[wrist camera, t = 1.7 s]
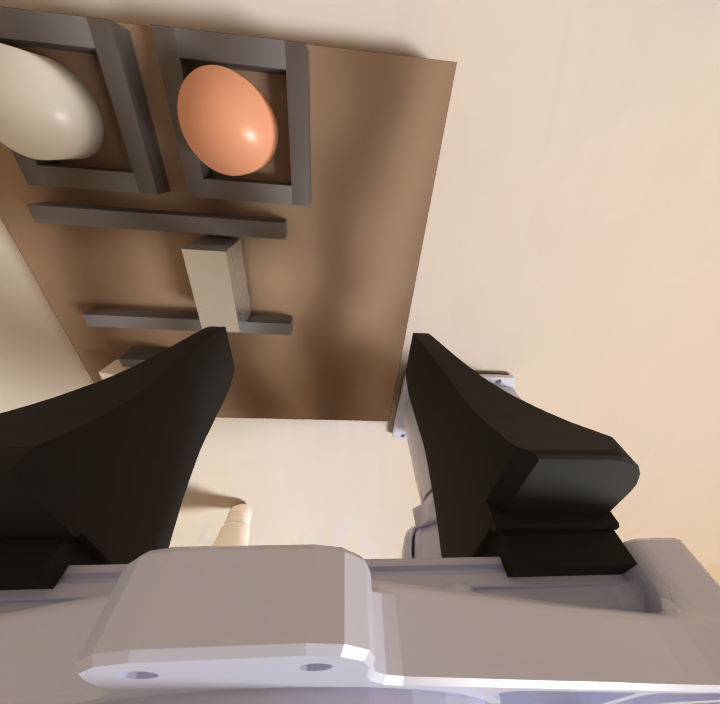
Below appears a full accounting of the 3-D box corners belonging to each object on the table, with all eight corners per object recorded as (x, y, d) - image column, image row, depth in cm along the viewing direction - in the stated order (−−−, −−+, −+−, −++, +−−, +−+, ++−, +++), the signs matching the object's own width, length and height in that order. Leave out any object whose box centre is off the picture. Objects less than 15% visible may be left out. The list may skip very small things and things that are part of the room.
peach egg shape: (274, 80, 11) (264, 70, 10) (281, 175, 13) (273, 179, 12) (189, 71, 11) (165, 59, 10) (207, 169, 13) (189, 172, 12)
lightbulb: (205, 495, 34) (153, 623, 25) (255, 486, 33) (220, 613, 24) (232, 521, 37) (195, 641, 28) (277, 512, 36) (255, 633, 27)
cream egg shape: (82, 59, 11) (41, 46, 9) (116, 162, 13) (86, 163, 11) (-12, 49, 11) (-69, 34, 9) (36, 155, 13) (-5, 156, 11)
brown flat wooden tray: (444, 72, 14) (469, 52, 11) (386, 404, 27) (391, 435, 24) (-64, 13, 12) (-187, -27, 10) (127, 397, 25) (99, 430, 22)
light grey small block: (240, 238, 16) (225, 251, 14) (251, 312, 18) (239, 332, 16) (201, 236, 16) (181, 248, 14) (218, 310, 18) (202, 330, 16)
